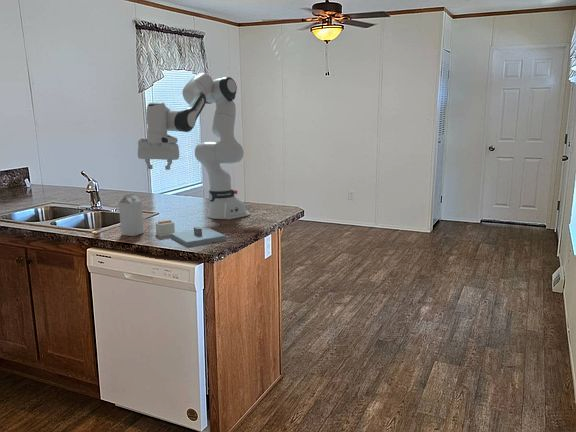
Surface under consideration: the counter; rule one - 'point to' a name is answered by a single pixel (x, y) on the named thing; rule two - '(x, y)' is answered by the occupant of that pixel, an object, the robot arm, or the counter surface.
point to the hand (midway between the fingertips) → (158, 169)
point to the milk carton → (131, 215)
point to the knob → (165, 228)
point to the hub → (198, 236)
